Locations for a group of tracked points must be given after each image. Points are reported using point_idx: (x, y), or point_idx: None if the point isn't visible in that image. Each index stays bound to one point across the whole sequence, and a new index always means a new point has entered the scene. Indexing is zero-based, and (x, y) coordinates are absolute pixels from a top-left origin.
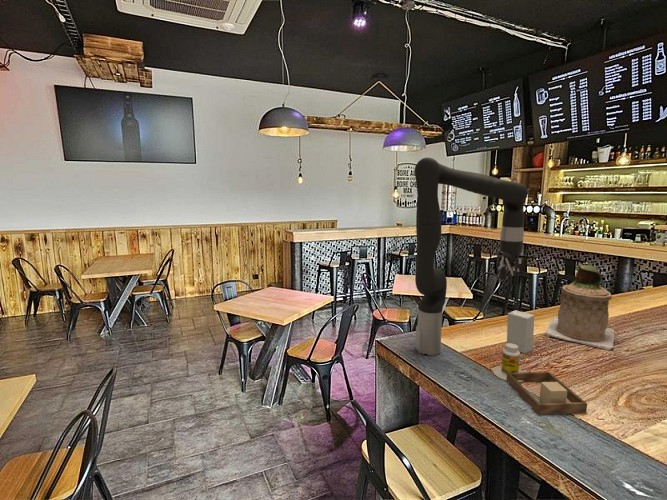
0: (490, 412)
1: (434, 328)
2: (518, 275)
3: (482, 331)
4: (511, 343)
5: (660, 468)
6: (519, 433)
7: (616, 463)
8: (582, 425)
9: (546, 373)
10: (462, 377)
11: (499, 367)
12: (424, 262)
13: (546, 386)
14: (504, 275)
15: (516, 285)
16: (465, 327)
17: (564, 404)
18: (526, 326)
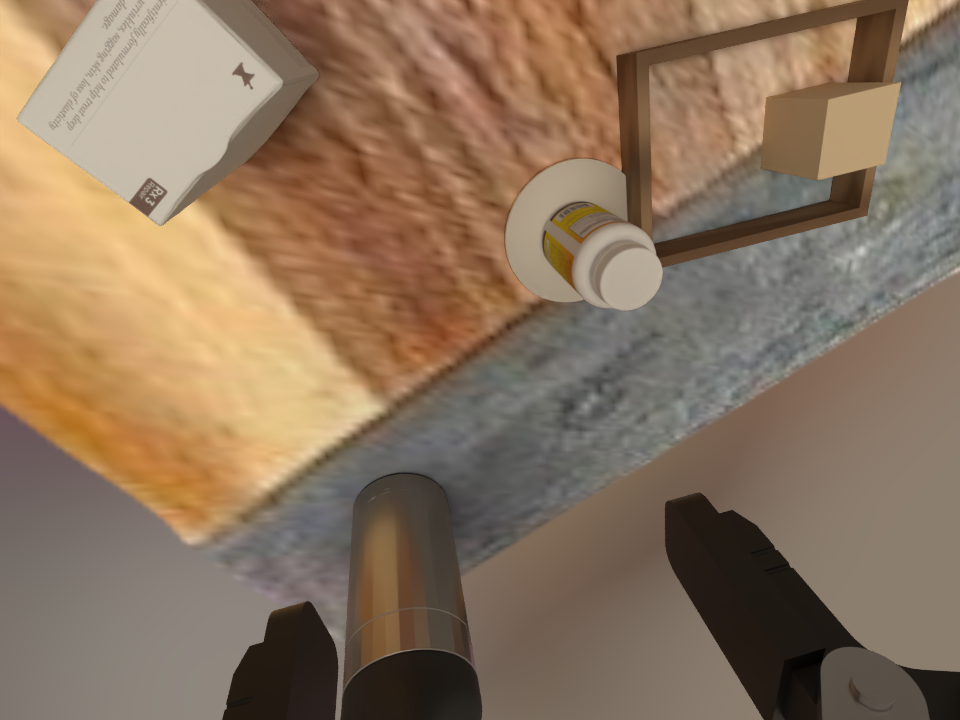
0: (798, 348)
1: (461, 592)
2: (905, 672)
3: (23, 266)
4: (604, 276)
5: None
6: (897, 290)
7: None
8: (924, 62)
9: (648, 75)
10: (601, 406)
11: (530, 269)
12: None
13: (851, 169)
14: (305, 687)
15: (697, 499)
16: (4, 359)
17: None
18: (294, 79)
